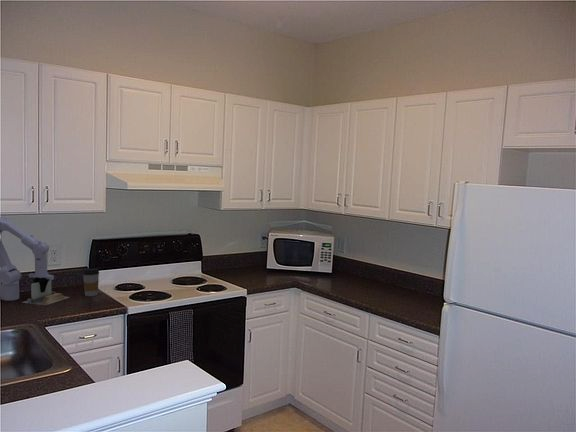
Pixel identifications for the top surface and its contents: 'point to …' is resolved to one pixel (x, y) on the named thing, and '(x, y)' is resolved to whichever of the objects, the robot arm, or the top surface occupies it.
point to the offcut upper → (53, 296)
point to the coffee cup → (91, 281)
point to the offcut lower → (54, 300)
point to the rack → (40, 300)
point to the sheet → (37, 292)
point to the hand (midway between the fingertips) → (41, 292)
